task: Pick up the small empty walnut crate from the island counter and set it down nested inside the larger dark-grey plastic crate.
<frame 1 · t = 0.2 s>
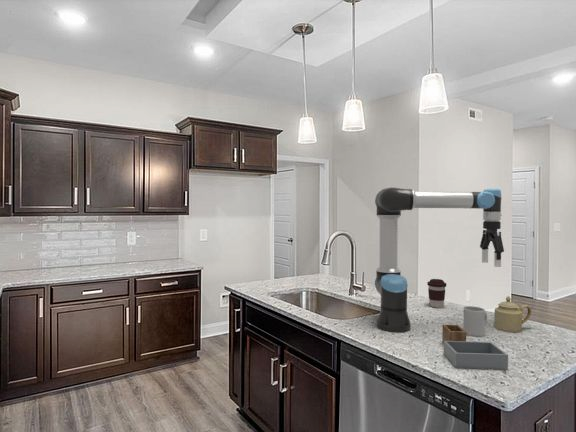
hand: (491, 264, 186), 28 cm above the worktop, fingers open, 13 cm apart
mug: (476, 333, 169), on the worktop
walnut crate: (453, 346, 152), on the worktop
coffee cup: (436, 306, 214), on the worktop
grey crate: (474, 361, 138), on the worktop
beige teapot: (510, 328, 176), on the worktop
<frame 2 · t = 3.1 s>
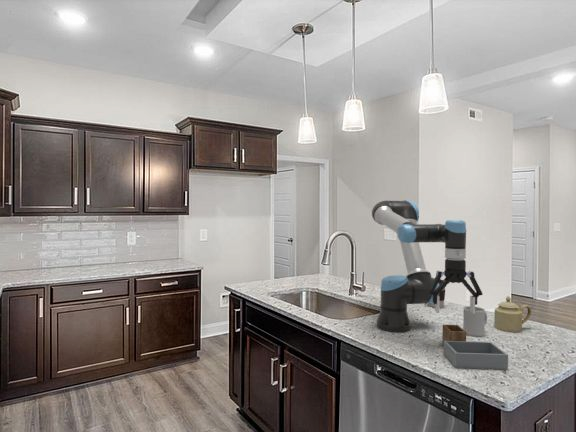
hand: (454, 312, 152), 14 cm above the worktop, fingers open, 13 cm apart
nothing on the worktop moved.
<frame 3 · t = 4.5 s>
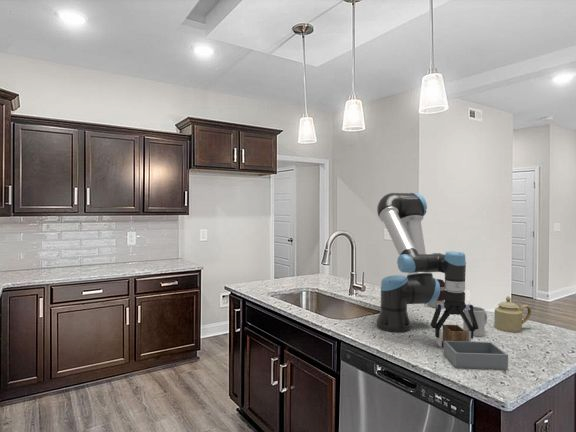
hand: (453, 346, 152), 0 cm above the worktop, fingers open, 10 cm apart
nothing on the worktop moved.
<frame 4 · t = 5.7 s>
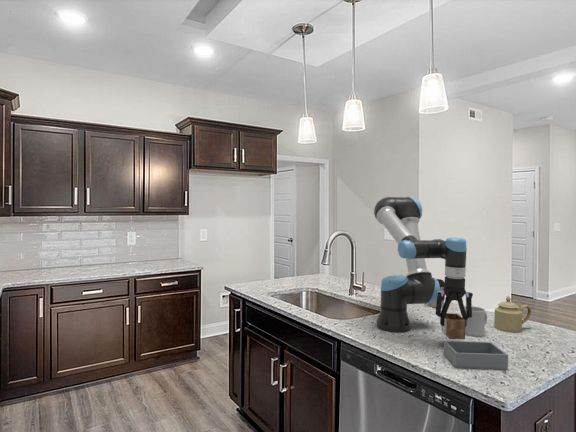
hand: (452, 333, 153), 5 cm above the worktop, fingers closed on walnut crate, 6 cm apart
walnut crate: (452, 335, 153), point 4 cm above the worktop, touching gripper
everything else where it was.
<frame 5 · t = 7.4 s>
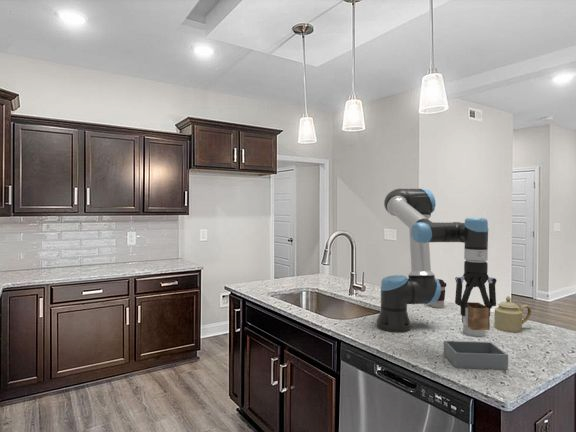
hand: (475, 325, 137), 13 cm above the worktop, fingers closed on walnut crate, 6 cm apart
walnut crate: (475, 326, 137), point 13 cm above the worktop, touching gripper
everything else where it was.
when the fingers open (1 cm above the worktop, at t = 9.3 s): walnut crate stays where it is, resting on grey crate.
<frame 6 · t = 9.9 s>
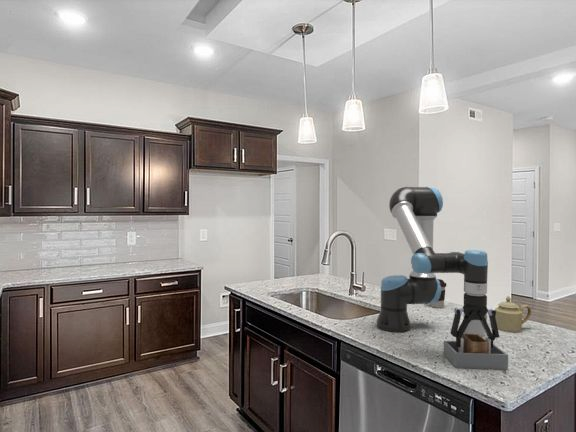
hand: (474, 356, 138), 2 cm above the worktop, fingers open, 9 cm apart
walnut crate: (474, 358, 138), point 1 cm above the worktop, touching grey crate
everything else where it was.
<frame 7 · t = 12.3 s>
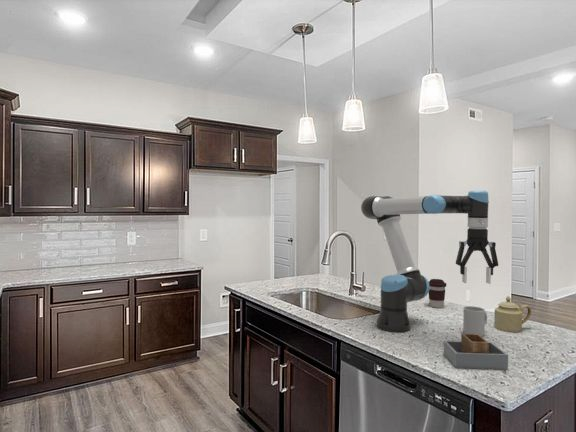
hand: (476, 282, 158), 24 cm above the worktop, fingers open, 9 cm apart
nothing on the worktop moved.
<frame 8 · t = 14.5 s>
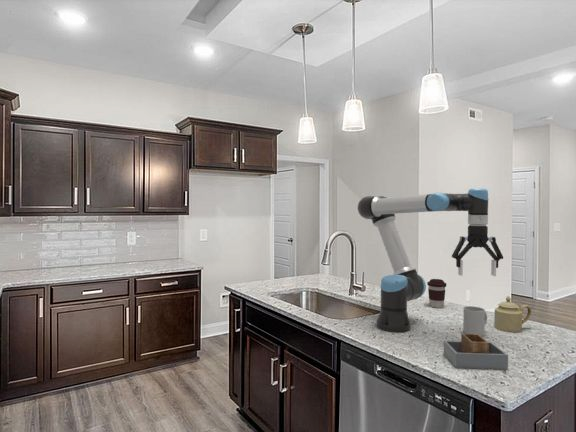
hand: (476, 275, 162), 27 cm above the worktop, fingers open, 13 cm apart
nothing on the worktop moved.
at the end: walnut crate inside the target area on the grey crate (0.1 cm from its centre), point 1.0 cm above the grey crate's base; walnut crate tilted 0°; the gripper is holding nothing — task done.
